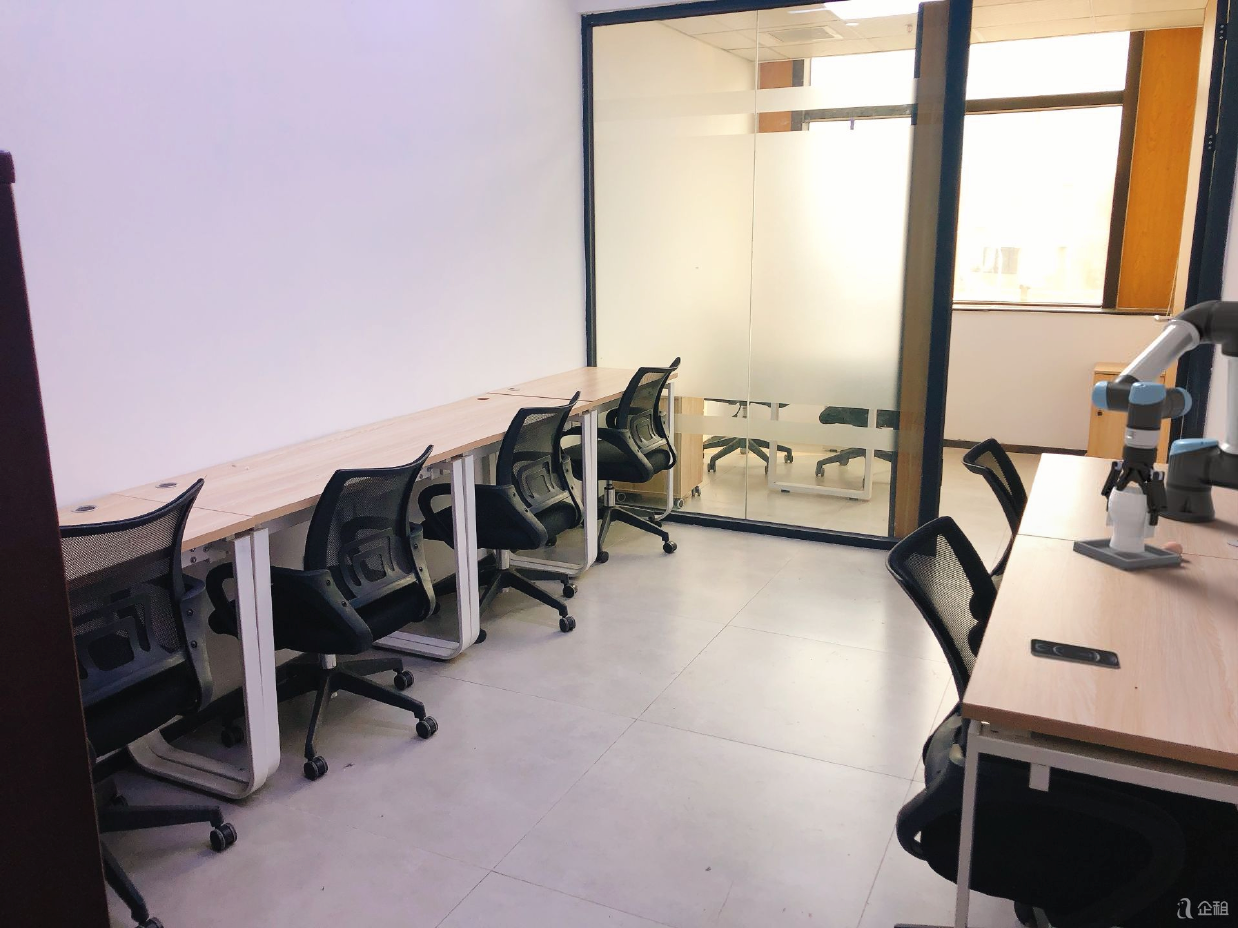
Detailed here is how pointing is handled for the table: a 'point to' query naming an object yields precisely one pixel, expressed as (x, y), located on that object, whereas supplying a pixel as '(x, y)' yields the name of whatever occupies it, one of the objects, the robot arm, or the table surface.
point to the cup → (1128, 518)
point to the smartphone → (1074, 653)
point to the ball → (1174, 547)
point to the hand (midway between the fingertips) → (1129, 531)
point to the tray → (1127, 555)
